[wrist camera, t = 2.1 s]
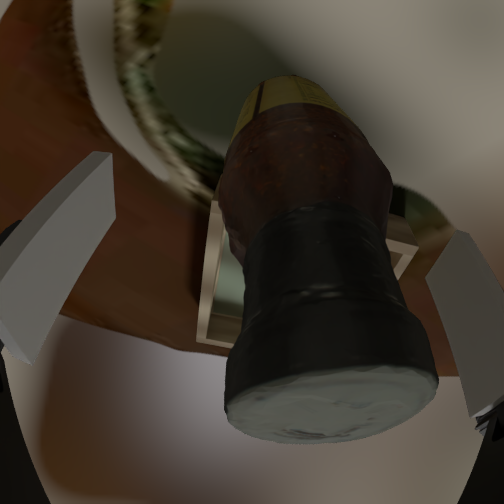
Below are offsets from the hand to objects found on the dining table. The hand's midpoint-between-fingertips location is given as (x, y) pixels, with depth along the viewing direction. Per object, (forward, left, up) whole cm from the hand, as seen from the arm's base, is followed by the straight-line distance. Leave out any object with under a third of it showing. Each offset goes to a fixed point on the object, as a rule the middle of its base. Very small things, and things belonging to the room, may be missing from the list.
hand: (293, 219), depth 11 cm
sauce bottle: (0, 0, -13) cm, 13 cm away
